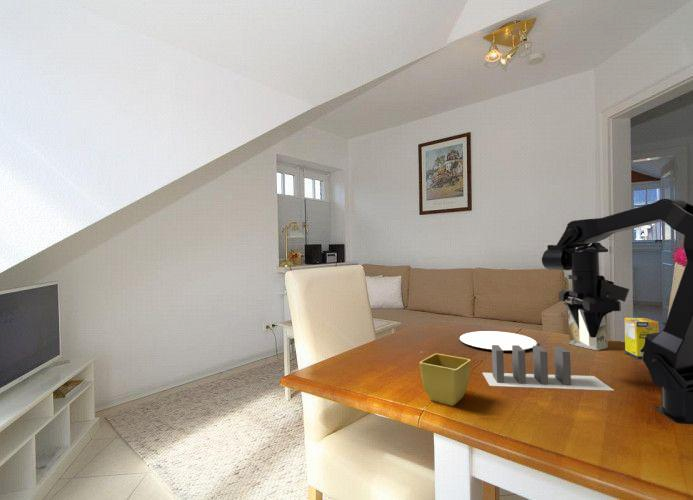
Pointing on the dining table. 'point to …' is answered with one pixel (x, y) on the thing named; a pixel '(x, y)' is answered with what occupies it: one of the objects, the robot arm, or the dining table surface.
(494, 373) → the domino
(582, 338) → the domino
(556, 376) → the domino
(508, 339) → the plate
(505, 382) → the runner mat
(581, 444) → the dining table surface
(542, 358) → the domino
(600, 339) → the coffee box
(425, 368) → the flower pot
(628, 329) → the supplement box
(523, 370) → the domino
